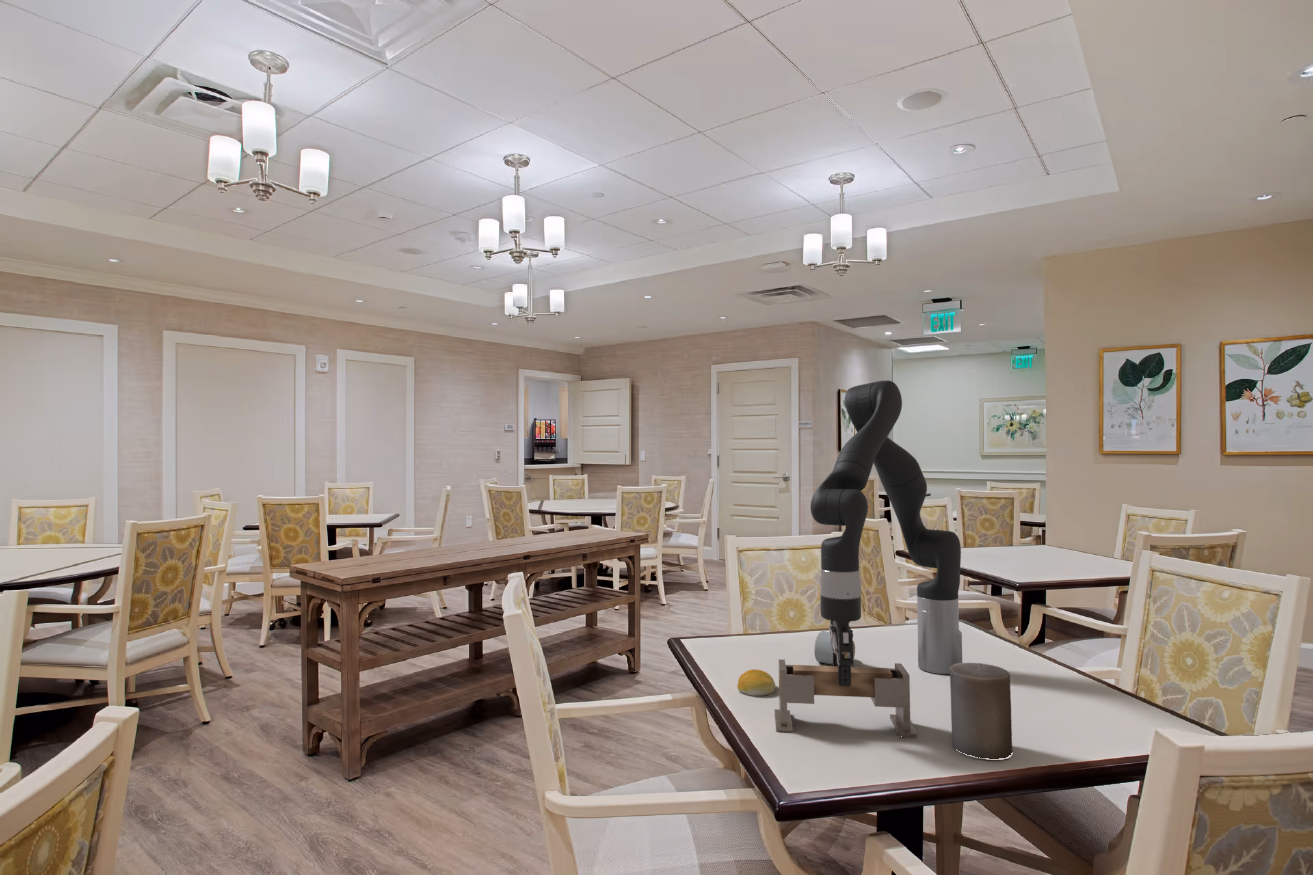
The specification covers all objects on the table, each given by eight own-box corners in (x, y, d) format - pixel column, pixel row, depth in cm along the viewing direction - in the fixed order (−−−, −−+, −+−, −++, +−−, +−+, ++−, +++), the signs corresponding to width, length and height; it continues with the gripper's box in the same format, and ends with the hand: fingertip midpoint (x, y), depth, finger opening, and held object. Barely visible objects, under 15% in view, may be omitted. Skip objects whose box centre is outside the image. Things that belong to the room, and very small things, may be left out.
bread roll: (736, 696, 146) (736, 677, 146) (739, 682, 155) (738, 665, 155) (775, 698, 145) (775, 679, 145) (775, 684, 154) (775, 666, 154)
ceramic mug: (845, 671, 162) (845, 638, 163) (813, 665, 167) (813, 633, 167) (861, 661, 171) (861, 630, 171) (830, 655, 176) (830, 625, 176)
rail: (888, 691, 130) (888, 668, 131) (892, 698, 127) (892, 673, 127) (793, 687, 133) (793, 664, 133) (794, 694, 129) (794, 670, 130)
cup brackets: (905, 719, 132) (904, 662, 133) (917, 737, 123) (915, 676, 124) (774, 713, 136) (773, 657, 136) (776, 731, 127) (775, 671, 127)
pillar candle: (1024, 752, 117) (1021, 664, 118) (992, 766, 112) (989, 674, 112) (971, 734, 125) (969, 652, 126) (939, 746, 120) (937, 660, 121)
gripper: (866, 601, 123) (868, 692, 122) (854, 586, 137) (856, 667, 136) (824, 600, 124) (825, 690, 123) (816, 585, 138) (817, 666, 137)
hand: (841, 678), depth 130 cm, fingers open, 8 cm apart
